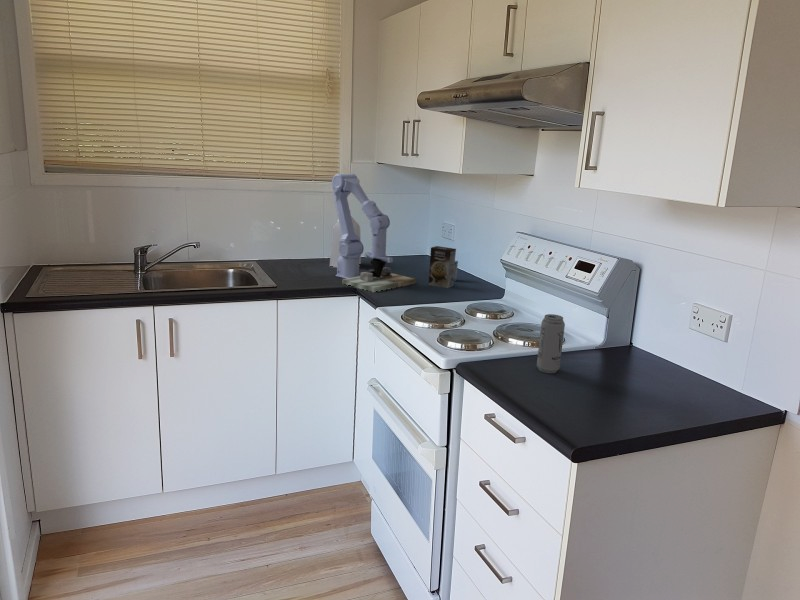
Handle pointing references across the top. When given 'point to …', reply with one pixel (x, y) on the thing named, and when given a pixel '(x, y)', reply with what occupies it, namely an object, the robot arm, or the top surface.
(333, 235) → the milk
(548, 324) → the energy drink can
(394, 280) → the door and jamb
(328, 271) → the top surface
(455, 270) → the medicine box
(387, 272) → the lock bar
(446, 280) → the coffee box
